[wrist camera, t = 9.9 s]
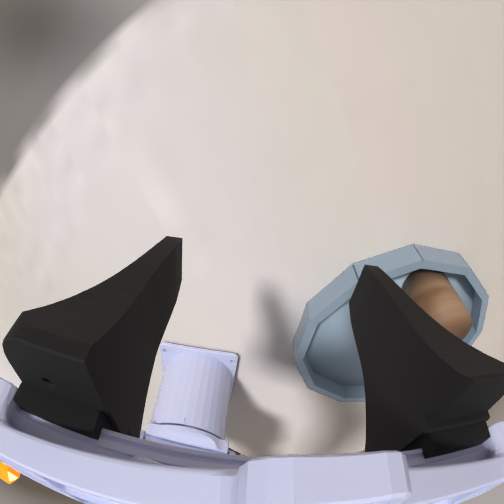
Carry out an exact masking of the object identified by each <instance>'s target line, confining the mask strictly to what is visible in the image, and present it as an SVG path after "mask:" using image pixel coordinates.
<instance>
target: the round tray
mask: <svg viewBox="0 0 504 504" xmlns="http://www.w3.org/2000/svg"><path fill="white" fill-rule="evenodd" d="M353 264H354V266H353V265H350V266H349V267H348V268H347V269H346V270H345V271H344V272H343V273H341V274H340V275H339V276H338V277H337V278H336V279H335V280H333V281H332V282H331V283H330V284H329V285H328V286H326V287H325V288H324V289H323V290H322V291H321V292H319V293H318V294H317V295H316V296H315V297H313V298H312V299H311V300H310V301H309V302H307V304H306V307H305V310H304V313H303V315H302V318H301V321H300V324H299V327H298V330H297V332H296V335H295V338H294V341H293V352H294V362H295V364H296V366H297V368H298V370H299V372H300V374H301V376H302V377H303V379H304V381H305V383H306V385H307V387H308V388H309V389H311V390H313V391H316V392H318V393H321V394H323V395H325V396H328V397H330V398H333V399H335V400H338V401H341V402H356V401H365V389H364V378H363V372H362V367H361V363H360V359H359V354H358V350H357V346H356V342H355V338H354V334H353V330H352V326H351V319H350V310H349V301H350V299H351V296H352V294H353V292H354V289H355V287H356V284H357V282H358V280H359V277H360V275H361V272H362V270H363V267H364V265H372V266H378V267H379V268H381V269H382V270H383V271H384V272H385V273H386V274H387V275H388V276H389V277H390V278H391V279H392V280H393V281H394V282H395V283H396V284H397V285H398V286H399V287H400V288H401V289H402V285H403V282H404V280H405V279H406V277H407V276H408V275H409V274H410V273H411V272H412V271H415V270H418V269H421V268H422V269H429V270H435V271H441V272H444V274H445V275H446V277H447V278H448V280H449V281H450V283H451V284H452V286H453V288H454V289H455V291H456V292H457V294H458V296H459V297H460V299H461V300H462V302H463V304H464V305H465V307H466V309H467V310H468V312H469V314H470V316H471V317H472V327H471V329H470V331H469V333H468V334H467V335H466V337H465V338H464V339H463V340H462V341H464V342H465V343H467V344H469V345H470V346H471V345H472V344H473V343H474V341H475V340H476V339H477V337H478V336H479V335H480V333H481V331H482V329H483V324H484V319H485V314H486V309H487V304H488V298H489V297H488V294H487V293H486V291H485V289H484V288H483V286H482V285H481V283H480V281H479V280H478V278H477V277H476V275H475V274H474V272H473V271H472V269H471V268H470V267H469V265H468V264H467V263H466V261H465V260H464V259H463V257H462V256H461V255H460V254H459V253H455V252H450V251H445V250H440V249H435V248H430V247H425V246H420V245H415V244H414V245H409V246H406V247H403V248H400V249H397V250H394V251H391V252H388V253H385V254H381V255H378V256H375V257H372V258H369V259H366V260H363V261H360V262H356V263H353Z"/></svg>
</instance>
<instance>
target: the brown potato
mask: <svg viewBox="0 0 504 504" xmlns="http://www.w3.org/2000/svg"><path fill="white" fill-rule="evenodd" d="M402 290H403V291H404V292H405V293H406V294H407V295H408V296H409V297H410V298H411V299H412V300H413V301H414V302H416V303H417V304H418V305H419V306H420V307H421V308H422V309H423V310H424V311H425V312H426V313H427V314H428V315H430V316H431V317H432V318H433V319H434V320H435V321H437V322H438V323H439V324H440V325H442V326H443V327H444V328H445V329H447V330H448V331H449V332H451V333H452V334H454V335H455V336H456V337H458V338H459V339H461V340H463V339H464V338H465V337H466V335H467V334H468V333H469V331H470V329H471V327H472V317H471V316H470V314H469V312H468V310H467V309H466V307H465V305H464V304H463V302H462V300H461V299H460V297H459V296H458V294H457V292H456V291H455V289H454V288H453V286H452V284H451V283H450V281H449V280H448V278H447V277H446V275H445V274H444V272H441V271H435V270H429V269H422V268H421V269H418V270H415V271H412V272H411V273H410V274H409V275H408V276H407V277H406V279H405V280H404V282H403V285H402Z"/></svg>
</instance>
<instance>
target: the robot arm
mask: <svg viewBox="0 0 504 504" xmlns="http://www.w3.org/2000/svg"><path fill="white" fill-rule="evenodd" d="M181 281H182V238H176V237H169V236H167V237H165V238H164V239H163V240H161V241H160V242H159V243H157V244H156V245H155V246H154V247H152V248H151V249H150V250H149V251H147V252H146V253H145V254H144V255H142V256H141V257H140V258H138V259H137V260H136V261H134V262H133V263H132V264H130V265H129V266H127V267H126V268H124V269H123V270H121V271H120V272H119V273H117V274H115V275H114V276H112V277H111V278H109V279H107V280H105V281H103V282H102V283H100V284H98V285H96V286H94V287H92V288H90V289H88V290H86V291H84V292H81V293H79V294H77V295H75V296H72V297H70V298H67V299H65V300H62V301H59V302H56V303H53V304H50V305H47V306H44V307H40V308H36V309H32V310H28V311H24V312H22V313H21V315H20V316H19V317H18V319H17V320H16V322H15V323H14V325H13V326H12V328H11V329H10V331H9V332H8V334H7V335H6V337H5V338H4V340H3V349H4V353H5V355H6V357H7V359H8V361H9V362H10V364H11V365H12V367H13V369H14V370H15V372H16V373H17V375H18V376H19V378H20V379H21V381H22V383H21V384H20V386H19V388H17V387H16V386H14V385H13V384H12V383H10V382H8V381H6V380H4V379H2V378H0V461H1V462H2V463H4V464H6V465H8V466H9V467H11V468H13V469H14V470H16V471H18V472H20V473H22V474H23V475H25V476H27V477H29V478H31V479H33V480H35V481H37V482H39V483H41V484H43V485H44V486H47V487H49V488H51V489H53V490H55V491H57V492H59V493H62V494H64V495H66V496H68V497H70V498H73V499H75V500H78V501H80V502H82V503H85V504H459V503H461V502H464V501H466V500H468V499H471V498H473V497H476V496H478V495H480V494H482V493H485V492H487V491H489V490H490V489H492V488H494V487H495V486H497V485H499V484H501V483H502V482H504V421H501V422H498V423H495V424H492V425H491V426H489V427H487V424H486V421H487V420H488V419H489V418H490V416H489V413H488V410H489V409H490V408H491V407H492V406H493V405H494V404H495V403H496V402H497V401H498V400H499V399H500V398H501V397H502V396H503V395H504V363H503V362H501V361H499V360H497V359H495V358H493V357H490V356H488V355H486V354H484V353H482V352H481V351H479V350H477V349H475V348H474V347H472V346H470V345H469V344H467V343H465V342H464V341H462V340H461V339H459V338H458V337H456V336H455V335H454V334H452V333H451V332H449V331H448V330H447V329H445V328H444V327H443V326H442V325H440V324H439V323H438V322H437V321H435V320H434V319H433V318H432V317H431V316H430V315H428V314H427V313H426V312H425V311H424V310H423V309H422V308H421V307H420V306H419V305H418V304H417V303H416V302H414V301H413V300H412V299H411V298H410V297H409V296H408V295H407V294H406V293H405V292H404V291H403V290H402V289H401V288H400V287H399V286H398V285H397V284H396V283H395V282H394V281H393V280H392V279H391V278H390V277H389V276H388V275H387V274H386V273H385V272H384V271H383V270H382V269H381V268H379V267H378V266H372V265H364V267H363V270H362V272H361V275H360V277H359V280H358V282H357V284H356V287H355V289H354V292H353V294H352V296H351V299H350V301H349V310H350V319H351V326H352V330H353V334H354V338H355V342H356V346H357V350H358V354H359V359H360V363H361V367H362V372H363V378H364V389H365V402H366V444H365V452H363V453H348V454H324V455H293V454H292V455H269V456H265V457H253V456H242V455H236V454H235V452H233V451H230V450H228V446H229V441H226V440H224V438H225V428H226V419H227V409H228V400H230V399H231V394H232V388H233V383H234V378H235V372H236V367H237V361H238V355H237V354H236V353H230V352H223V351H216V350H209V349H202V348H196V347H190V346H184V345H178V344H173V343H167V342H162V343H161V346H160V347H161V356H162V364H163V372H164V374H163V377H162V381H161V385H160V388H159V392H158V396H157V400H156V404H155V408H154V411H153V415H152V419H151V423H149V425H148V429H147V433H146V434H145V431H144V430H141V425H142V419H143V413H144V408H145V402H146V397H147V392H148V387H149V382H150V378H151V374H152V369H153V365H154V361H155V357H156V354H157V351H158V348H159V345H160V342H161V339H162V337H163V334H164V332H165V329H166V327H167V324H168V322H169V319H170V316H171V314H172V311H173V309H174V306H175V304H176V301H177V297H178V293H179V289H180V285H181Z"/></svg>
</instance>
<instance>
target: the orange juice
mask: <svg viewBox="0 0 504 504" xmlns="http://www.w3.org/2000/svg"><path fill="white" fill-rule="evenodd" d="M19 475H20V472H18V471H16V470H14V469H13V468H11V467H9V466H8V465H6V464H4V463H2V462H0V478H1V479H2V480H4V481H6V482H7V483H9V484H10V483H12V482H13V481H15V480H16V479H18V478H19Z"/></svg>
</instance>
